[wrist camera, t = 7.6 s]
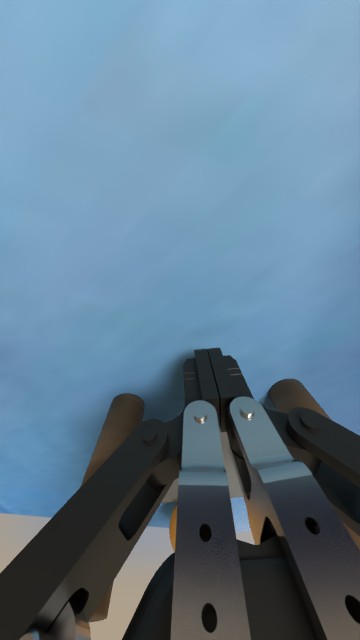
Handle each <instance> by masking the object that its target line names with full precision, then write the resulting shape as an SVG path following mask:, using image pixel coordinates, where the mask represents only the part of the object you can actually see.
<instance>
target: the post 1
mask: <svg viewBox="0 0 360 640" xmlns="http://www.w3.org/2000/svg"><path fill="white" fill-rule="evenodd" d="M144 407H145V405H144V402H143V400H142V399H141V398H139V397H138V396H136V395H133V394H121V395H118V396H116V397H115V398H114V399H113V401H112V404H111V407H110V409H109V412H108V415H107V417H106V420H105V423H104V425H103V428H102V431H101V433H100V436H99V439H98V441H97V444H96V447H95V450H94V452H93V455H92V458H91V460H90V463H89V466H88V468H87V471H86V474H85V476H84V479H83V482H82V484H81V486H82V485H83V484H84V483H85V482H86V481H87V480H88V479H89V478H90V477H91V476H92V475H93V474H94V473H95V471H96V470H97V469H98V468H99V467H100V466H101V465H102V464H103V463H104V462H105V461H106V460H107V459H108V458H109V456H110V455H111V454H112V453H113V452H114V451H115V450H116V449H117V448H118V447H119V446H120V445H121V444H122V443H123V441H124V440H125V439H126V438H127V437H128V436H129V435H130V434H131V433H132V432H133V431H134V430H135V429H136V428H137V427H138V426H139V425H140V424H141V423H142V418H143V413H144ZM80 488H81V487H80ZM112 586H113V582H112V584H111V585H110V587H109V589H108V590H107V592H106V594H105V595H104V597H103V599H102V600H101V602H100V604H99V605H98V607H97V608H96V610H95V612H94V613H93V615H92V617H91V618H90V620H89V622H94V621H100V620H104V619H106V618H107V614H108V608H109V603H110V597H111V591H112Z"/></svg>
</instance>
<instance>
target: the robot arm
mask: <svg viewBox="0 0 360 640" xmlns="http://www.w3.org/2000/svg"><path fill="white" fill-rule="evenodd" d="M194 352H195V359H187V360H186V362H185V364H184V366H183V368H184V387H185V408H184V410H183V412H182V413H181V415H180V416H178V417H177V418H176V419H174V420H172V421H169V422H167V423H165V424H164V423H163V422H161V421H160V420H157V419H150V420H146V421H144V422H142V423H141V424H140V425H139V426H138V427H137V428H136V429H135V430H134V431H133V432H132V433H131V434H130V435H129V436H128V437H127V438H126V439H125V440H124V441H123V443H122V444H121V445H120V446H119V447H118V448H117V449H116V450H115V451H114V452H113V453H112V454H111V455H110V456H109V458H108V459H107V460H106V461H105V462H104V463H103V464H102V465H101V466H100V467H99V468H98V469H97V470H96V471H95V473H94V474H93V475H92V476H91V477H90V478H89V479H88V480H87V481H86V482H85V483H84V484H83V485H82V486H81V488H80V489H79V490H78V491H77V492H76V493H75V494H74V495H73V496H72V497H71V498H70V499H69V500H68V501H67V503H66V504H65V505H64V506H63V507H62V508H61V509H60V510H59V511H58V512H57V513H56V514H55V515H54V516H53V518H52V519H51V520H50V521H49V522H48V523H47V524H46V525H45V526H44V527H43V528H42V529H41V531H39V533H38V534H37V535H36V536H35V537H34V538H33V539H32V540H31V541H30V542H29V543H28V544H27V545H26V546H25V548H24V549H23V550H22V551H21V552H20V553H19V554H18V555H17V556H16V557H15V558H14V559H13V560H12V561H11V563H10V564H9V565H8V566H7V567H6V568H5V569H4V570H3V571H2V572H1V573H0V640H91V639H90V627H89V623H88V622H89V620H90V618H91V617H92V615H93V613H94V612H95V610H96V608H97V607H98V605H99V604H100V602H101V600H102V599H103V597H104V595H105V594H106V592H107V590H108V589H109V587H110V585H111V584H112V582H113V581H114V579H115V577H116V576H117V574H118V572H119V571H120V569H121V567H122V566H123V564H124V562H125V561H126V559H127V558H128V556H129V554H130V553H131V551H132V549H133V548H134V546H135V544H136V543H137V541H138V539H139V538H140V536H141V534H142V533H143V531H144V530H145V528H146V526H147V525H148V523H149V521H150V520H151V518H152V516H153V515H154V513H155V512H156V510H157V508H158V507H159V505H160V503H161V502H162V500H163V498H164V497H165V495H166V493H167V492H168V490H169V489H170V487H171V485H172V483H173V482H174V480H176V479H177V478H179V482H178V502H177V521H176V541H175V552H174V553H173V554H171V555H170V556H169V557H168V558H167V559H166V560H165V561H164V562H163V564H162V565H161V566H160V567H159V569H158V570H157V571H156V573H155V575H154V576H153V578H152V579H151V581H150V583H149V584H148V587H147V589H146V590H145V592H144V595H143V597H142V599H141V601H140V603H139V605H138V607H137V609H136V612H135V613H134V616H133V618H132V620H131V622H130V624H129V626H128V628H127V630H126V632H125V634H124V637H123V638H122V640H360V550H359V548H358V547H357V545H356V543H355V542H354V540H353V539H352V537H351V535H350V534H349V532H348V531H347V529H346V527H345V526H344V524H346V525H347V526H348V527H349V528H350V529H352V530H353V531H354V532H355V533H356V534H357V535H359V536H360V436H359V435H357V434H355V433H354V432H352V431H350V430H348V429H346V428H345V427H343V426H341V425H339V424H337V423H336V422H334V421H332V420H330V419H328V418H327V417H325V416H323V415H321V414H319V413H318V412H316V411H314V410H311V409H308V408H304V407H296V408H293V409H292V410H291V411H290V412H289V414H285V413H280V412H275V411H271V410H268V409H266V408H264V407H262V405H261V404H260V403H259V402H258V401H256V400H254V398H253V396H252V394H251V392H250V390H249V388H248V386H247V383H246V381H245V379H244V377H243V375H242V373H241V370H240V369H239V366H238V364H237V362H236V360H235V359H233V358H232V357H231V356H230V355H228V356H223V355H222V352H221V349H220V348H211V349H201V350H194ZM220 430H221V432H227V436H228V440H229V451H230V455H231V458H232V461H233V464H234V467H235V471H236V474H237V477H238V480H239V483H240V487H241V490H242V493H243V496H244V500H245V503H246V507H247V513H248V519H249V524H250V528H251V531H252V535H253V538H254V541H255V545H252V544H249V543H246V542H243V541H240V540H237V539H236V533H235V526H234V519H233V512H232V506H231V499H230V492H229V485H228V479H227V473H226V470H225V467H224V461H223V454H222V446H221V439H220ZM342 522H343V523H344V524H343V523H342Z"/></svg>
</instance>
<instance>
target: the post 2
mask: <svg viewBox="0 0 360 640" xmlns="http://www.w3.org/2000/svg"><path fill="white" fill-rule="evenodd" d="M269 396H270V398H271V400H272V402H273V404H274V406H275V407H276V409H277V411H278V412H280V413H285V414H289V412H290V411H291V410H292V409H293V408H296V407H304V408H308V409H311V410H314V411H316V412H318V413H319V414H321V415H323V416H325V417H327V418H328V419H330V418H329V416H328V415H327V414H326V413H325V412H324V410H323V409H322V408H321V407H320V405H319V404H318V403H317V402H316V401H315V399H314V398H313V397H312V396H311V394H310V393H309V392H308V391H307V390H306V388H305V387H304V386H303V385H302V383H301V382H300V381H298V380H295V379H285V380H282V381H279V382H277V383H276V384H275V385H273V386H272V388H271V389H270V391H269ZM330 420H331V419H330ZM342 523H343V522H342ZM343 524H344V523H343ZM344 526H345V527H346V529H347V531H348V532H349V534H350V535H351V537H352V539H353V540H354V542H355V543H356V545H357V547H358V548H359V550H360V536H359V535H357V534H356V533H355V532H354V531H353V530H352V529H350V528H349V527H348V526H347V525H346V524H344Z"/></svg>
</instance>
